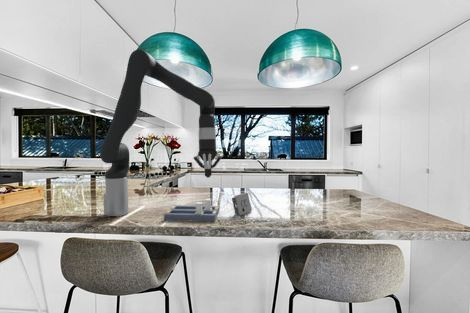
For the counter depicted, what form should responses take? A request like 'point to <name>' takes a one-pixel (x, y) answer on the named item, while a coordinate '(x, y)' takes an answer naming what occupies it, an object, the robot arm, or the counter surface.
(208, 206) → the tab
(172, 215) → the blue-grey compartment tray
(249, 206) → the electrical switch
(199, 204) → the tab
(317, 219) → the counter surface
